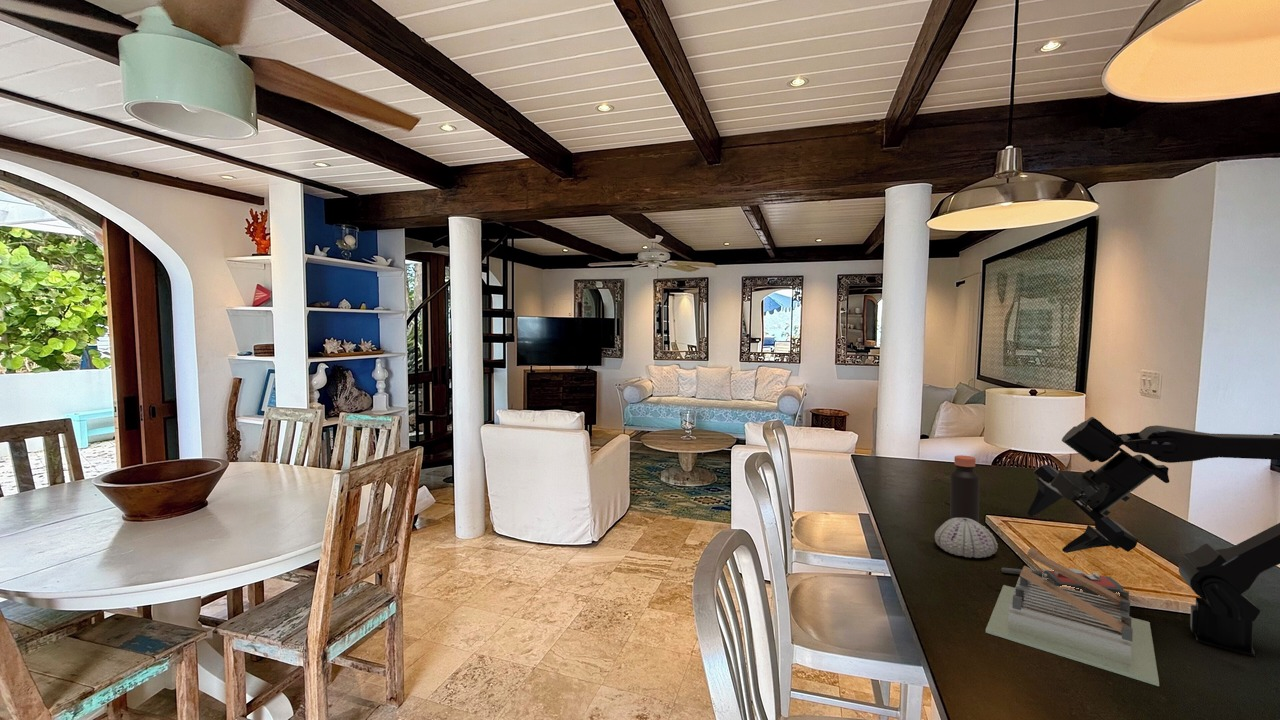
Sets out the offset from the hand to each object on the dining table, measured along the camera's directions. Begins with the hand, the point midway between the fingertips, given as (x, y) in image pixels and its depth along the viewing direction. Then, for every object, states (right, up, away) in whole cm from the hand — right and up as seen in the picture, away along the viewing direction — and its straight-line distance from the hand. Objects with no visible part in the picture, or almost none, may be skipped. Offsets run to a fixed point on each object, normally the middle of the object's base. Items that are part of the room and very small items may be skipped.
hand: (1045, 532), depth 101 cm
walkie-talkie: (+10, -15, +8) cm, 19 cm away
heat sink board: (-2, -15, -8) cm, 17 cm away
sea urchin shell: (+1, -14, +27) cm, 30 cm away
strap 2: (-6, -8, -13) cm, 16 cm away
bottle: (+10, -13, +41) cm, 44 cm away
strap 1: (+2, -7, -5) cm, 9 cm away
